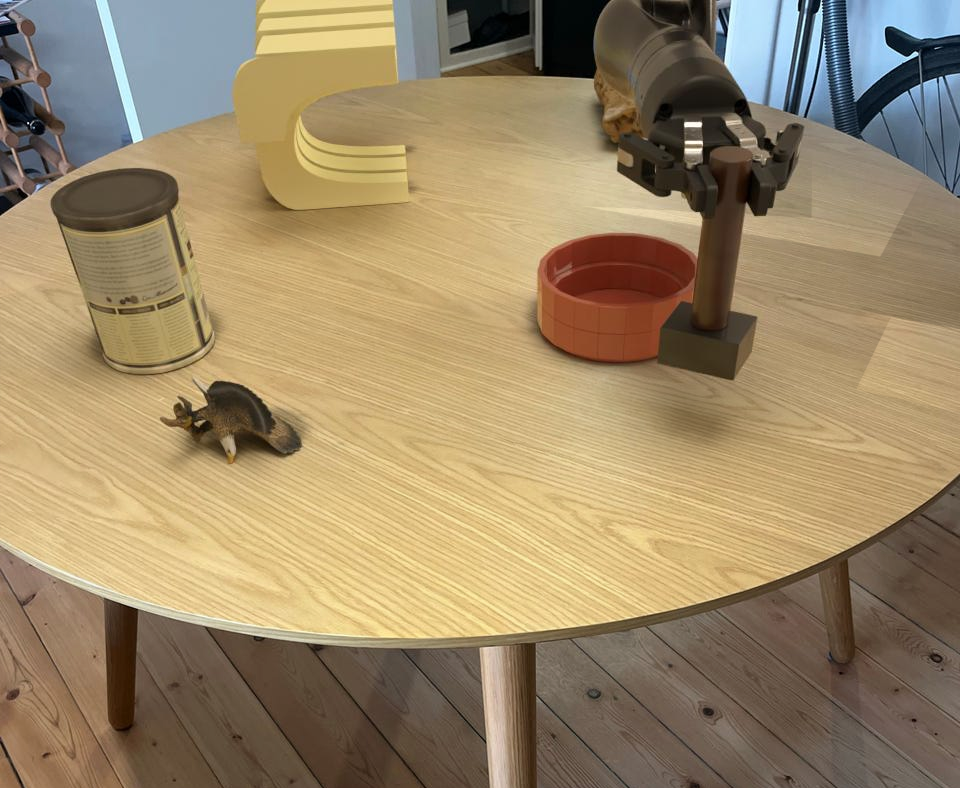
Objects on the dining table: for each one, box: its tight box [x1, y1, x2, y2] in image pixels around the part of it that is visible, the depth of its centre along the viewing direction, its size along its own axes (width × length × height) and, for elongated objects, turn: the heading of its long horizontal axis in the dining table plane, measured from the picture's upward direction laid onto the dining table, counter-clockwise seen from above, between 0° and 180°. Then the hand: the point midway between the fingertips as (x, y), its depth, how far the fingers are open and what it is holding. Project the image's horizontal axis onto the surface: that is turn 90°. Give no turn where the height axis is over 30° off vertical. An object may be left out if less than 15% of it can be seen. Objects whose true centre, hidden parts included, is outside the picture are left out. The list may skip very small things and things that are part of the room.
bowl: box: [536, 232, 698, 363], centre depth 91 cm, size 14×14×6 cm
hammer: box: [656, 146, 759, 382], centre depth 72 cm, size 6×4×15 cm
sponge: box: [593, 68, 644, 144], centre depth 126 cm, size 13×8×20 cm
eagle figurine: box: [159, 376, 303, 464], centre depth 80 cm, size 8×7×9 cm
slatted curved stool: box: [231, 0, 410, 211], centre depth 113 cm, size 30×16×18 cm, turn 4°
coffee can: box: [49, 167, 216, 375], centre depth 89 cm, size 10×10×14 cm
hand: (737, 202), depth 66 cm, fingers closed on hammer, 3 cm apart
